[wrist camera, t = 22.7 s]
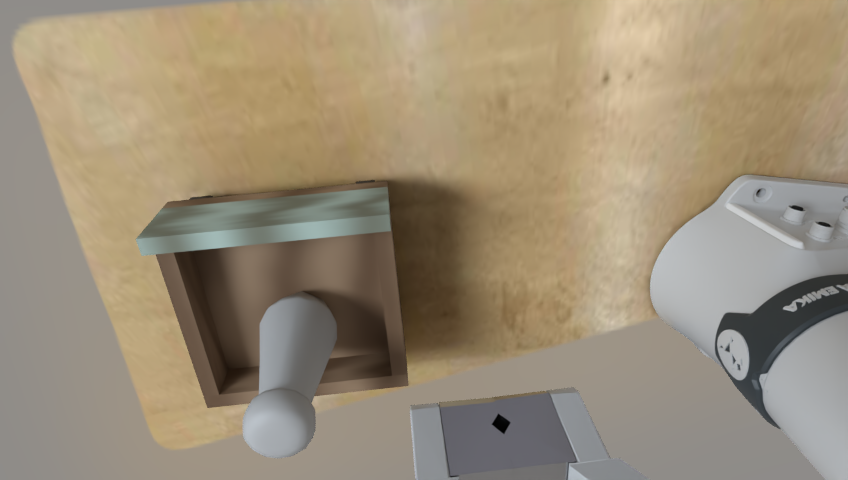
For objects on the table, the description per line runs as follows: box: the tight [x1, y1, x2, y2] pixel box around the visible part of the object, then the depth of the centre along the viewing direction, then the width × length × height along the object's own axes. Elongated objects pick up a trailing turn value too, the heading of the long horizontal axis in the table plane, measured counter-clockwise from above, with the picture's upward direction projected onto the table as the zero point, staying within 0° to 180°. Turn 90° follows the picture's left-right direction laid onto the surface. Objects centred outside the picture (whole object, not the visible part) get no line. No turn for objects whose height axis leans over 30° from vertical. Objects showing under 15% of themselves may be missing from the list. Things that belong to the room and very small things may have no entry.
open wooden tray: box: [136, 180, 408, 408], centre depth 42 cm, size 16×16×9 cm
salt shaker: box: [243, 291, 337, 458], centre depth 38 cm, size 6×6×13 cm
